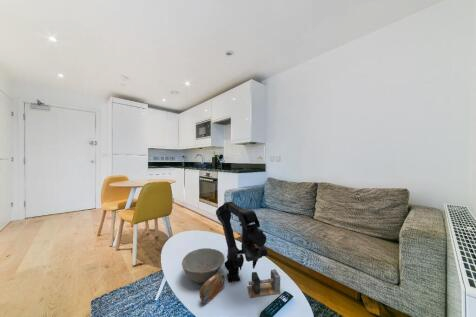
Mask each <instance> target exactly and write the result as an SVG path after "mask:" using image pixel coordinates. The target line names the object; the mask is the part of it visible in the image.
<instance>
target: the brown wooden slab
mask: <svg viewBox="0 0 476 317" xmlns="http://www.w3.org/2000/svg"><path fill="white" fill-rule="evenodd" d="M225 280H226V278H225V275H224V274H223V273H219V272H218V273H216V274H215V275H214V276H212V277H211V278H210V279H209V280H207V281H205V282H203V284H202V286H201V288H200V289H199V299H200V302H203V303H204V304H209V303H210V302H211V301H212V300H213V299H214V298H215V297H217V295H218V294H220V292H221V291H222V290H223V289H224V286H225Z"/></svg>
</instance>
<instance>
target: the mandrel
mask: <svg viewBox="0 0 476 317" xmlns="http://www.w3.org/2000/svg"><path fill="white" fill-rule="evenodd" d="M252 285H254V281H252V280H251V281H248V285H247V286H246V289H247V291H248V295H249V298H250V299H252V298H253V299H254V298H261V297H268V296H274V295H280V294H281V275H280V274H279V273H278V271H277V269H270V278H267V279H260V294H255V292H254V290H253V287H252Z"/></svg>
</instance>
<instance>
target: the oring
mask: <svg viewBox="0 0 476 317" xmlns="http://www.w3.org/2000/svg"><path fill="white" fill-rule="evenodd" d="M260 280H261V279H260V277H259V275H258V273H257V271H253V272H251V281H254V285H251V286H252V287H253V290H254V292H255V294H260Z"/></svg>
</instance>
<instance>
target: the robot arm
mask: <svg viewBox="0 0 476 317" xmlns="http://www.w3.org/2000/svg"><path fill="white" fill-rule="evenodd" d="M232 214H233V215H234V216H236V217H237V219H238V221H239V226H240V227H241V249H239V248H238V246H237V242H236V238H235V234H234V232H233V227H232V224H231V219H232ZM215 216H216V217H217V220H218V221H219V222H220V223H221V225H222V230H223V233H224V237H225V238H224V239H225V242H226V246H227V255H226V258H227V259H226V261H224V263H223V265H224V268H225V269H226V270H227V273H226V277H227V281H228V283H234V282H235V283H236V282H241V277H240V271H242V267H243V266H244V262H245V261H246V262H252V269H253V270H255V267H256V265H257V263H258V261H259V259H261V258H262V257H267V256H268V249H267V248H266V246H265V244H266V242H267V236H266V234H265V233H264V230H262V229H260V228H261V224H260V221H259V219H258V217H257V214H256V212H255V211H254V210H251V209H245V208H243V207H241V206H239V205H237V204H235V203H234V201H225V202H223V204H222V205H221V206H219V207H217V209H216V210H215ZM244 257H245V258H244Z"/></svg>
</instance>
